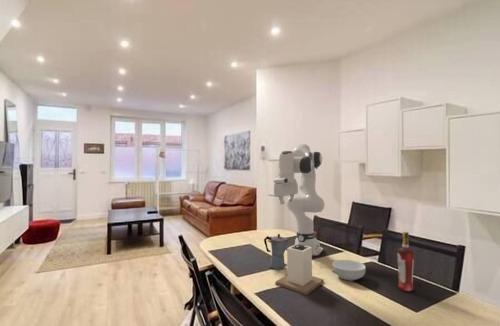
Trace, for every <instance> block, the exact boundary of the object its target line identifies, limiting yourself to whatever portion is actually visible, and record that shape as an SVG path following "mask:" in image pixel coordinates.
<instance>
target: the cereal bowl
mask: <svg viewBox="0 0 500 326" xmlns="http://www.w3.org/2000/svg"><path fill="white" fill-rule="evenodd" d="M332 270H333V272H334V274H335V275H336V276H338V277H339V278H341V279H343V280H345V281H350V282H351V281H353V282H354V281H356V280H359V279H361V278H364V276H365V275H366V272H367V271H366V270H367V269H366V265H365V264H364V263H361V262H359V261H355V260H351V259H350V260H349V259H341V260H340V259H339V260H338V259H337V260H335V261H333V262H332Z"/></svg>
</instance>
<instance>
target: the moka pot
mask: <svg viewBox="0 0 500 326" xmlns="http://www.w3.org/2000/svg"><path fill="white" fill-rule="evenodd" d="M267 240H268V241H270V247H271V250H270V249H269V247H268V243H267ZM263 242H264V245H265V246H264V247H265V249H266V252H268V253H271V257H270V263H269V267H270V269H273V270H277V271H279V270H284V269H285V268H286V267H285V266H286V265H285V252H286V249H287V248H286V247H287V246H288V244H289V242H290V240H289V239H288V238H286V237H284V236H281V233H278V234H277V236H268V235H267V236H265V238H264V239H263Z"/></svg>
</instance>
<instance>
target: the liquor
mask: <svg viewBox="0 0 500 326" xmlns="http://www.w3.org/2000/svg"><path fill="white" fill-rule="evenodd" d="M401 233H402V235H401V236H402V246H401V247H400V248H398V249H396V254H397V255H396V257H397V267H398V270H397V272H398V285H397V287H398V288H399V289H400V290H401V291H403V292H406V293H409V292H412V291H413V290H414V289H415V288H414V282H413V281H414V266H415V265H414V264H415V263H414V262H415V252H414V250H413V249H410V244H409V232H407V231H402V232H401Z"/></svg>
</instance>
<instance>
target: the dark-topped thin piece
mask: <svg viewBox="0 0 500 326" xmlns="http://www.w3.org/2000/svg"><path fill="white" fill-rule="evenodd" d="M294 245H295V244H294ZM295 249H297V250H301V251H303V250H304V245H295Z"/></svg>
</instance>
